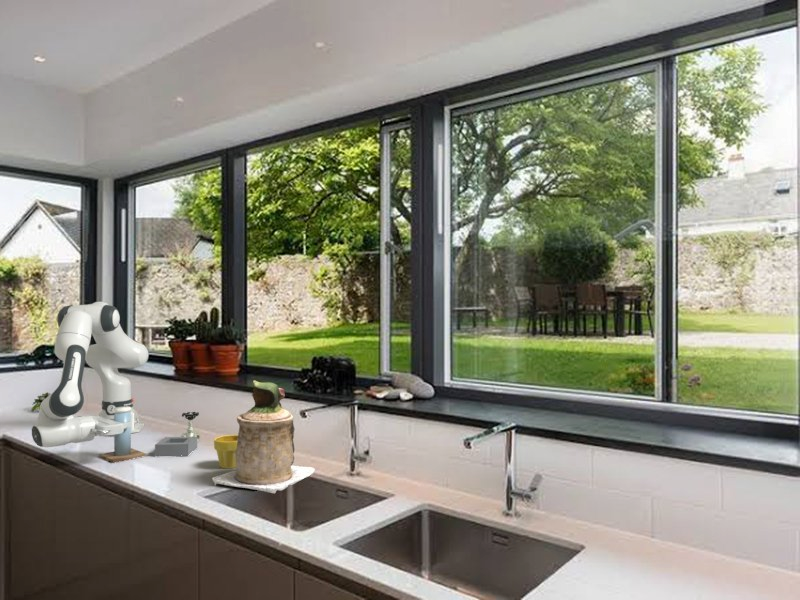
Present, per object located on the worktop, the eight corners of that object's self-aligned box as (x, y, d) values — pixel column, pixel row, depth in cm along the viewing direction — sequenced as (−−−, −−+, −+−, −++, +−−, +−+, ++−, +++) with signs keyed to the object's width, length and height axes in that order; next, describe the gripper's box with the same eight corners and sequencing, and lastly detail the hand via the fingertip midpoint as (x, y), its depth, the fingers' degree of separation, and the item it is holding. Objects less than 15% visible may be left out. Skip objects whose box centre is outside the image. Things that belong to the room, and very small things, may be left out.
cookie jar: (277, 495, 178) (277, 387, 178) (209, 486, 187) (209, 383, 187) (317, 472, 201) (317, 377, 201) (254, 465, 210) (254, 374, 210)
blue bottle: (117, 452, 224) (117, 406, 223) (133, 451, 224) (133, 406, 224) (111, 456, 218) (111, 409, 218) (127, 455, 218) (127, 409, 218)
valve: (193, 445, 238) (193, 415, 238) (178, 444, 240) (178, 414, 240) (202, 441, 245) (202, 412, 245) (187, 440, 246) (187, 411, 246)
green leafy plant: (46, 419, 314) (60, 399, 320) (51, 419, 306) (65, 398, 312) (25, 409, 309) (39, 389, 315) (30, 408, 301) (44, 387, 307)
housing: (165, 448, 233) (165, 437, 233) (197, 448, 234) (197, 436, 234) (155, 456, 221) (155, 444, 221) (188, 456, 222) (188, 444, 222)
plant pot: (209, 470, 204) (209, 441, 204) (220, 461, 214) (220, 434, 214) (239, 470, 203) (239, 441, 203) (248, 462, 214) (248, 434, 214)
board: (98, 457, 220) (98, 454, 220) (131, 450, 229) (131, 448, 229) (113, 463, 212) (113, 460, 212) (146, 456, 222) (146, 453, 221)
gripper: (97, 423, 204) (138, 417, 215) (74, 415, 218) (113, 410, 228) (97, 442, 204) (138, 435, 215) (74, 433, 218) (113, 427, 228)
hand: (124, 422), depth 222 cm, fingers open, 7 cm apart
